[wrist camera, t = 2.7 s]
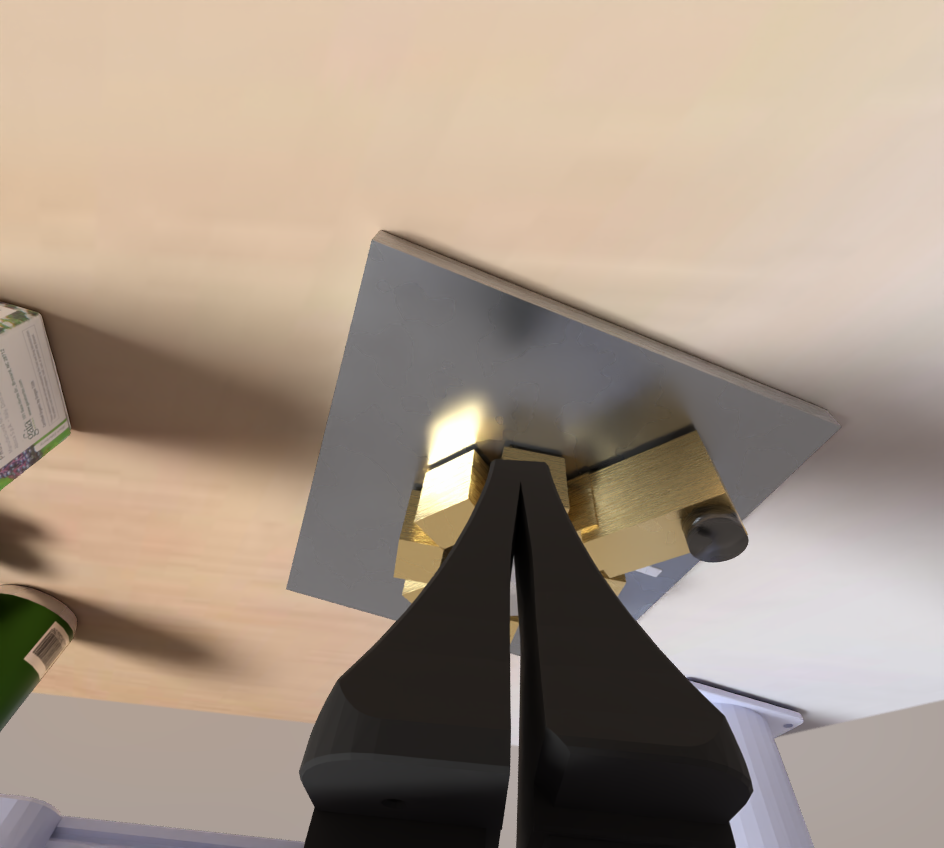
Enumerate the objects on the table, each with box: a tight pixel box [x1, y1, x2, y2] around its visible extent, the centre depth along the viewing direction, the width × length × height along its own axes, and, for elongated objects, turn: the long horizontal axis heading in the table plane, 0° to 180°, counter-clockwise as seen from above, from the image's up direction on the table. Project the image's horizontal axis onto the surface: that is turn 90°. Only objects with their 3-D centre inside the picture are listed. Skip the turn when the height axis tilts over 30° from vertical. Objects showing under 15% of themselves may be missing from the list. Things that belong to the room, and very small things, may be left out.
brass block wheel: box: [394, 430, 748, 644], centre depth 18 cm, size 12×8×4 cm
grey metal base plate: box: [286, 230, 841, 656], centre depth 19 cm, size 18×16×4 cm
